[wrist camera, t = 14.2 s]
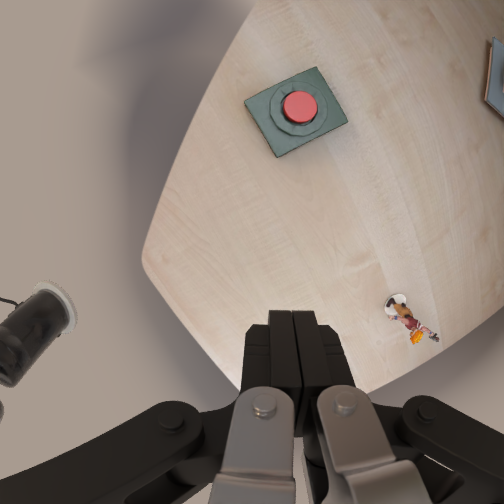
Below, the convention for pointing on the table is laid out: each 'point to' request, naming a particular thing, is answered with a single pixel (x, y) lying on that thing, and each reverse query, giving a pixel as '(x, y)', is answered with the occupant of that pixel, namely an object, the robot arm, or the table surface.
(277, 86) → the button box
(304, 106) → the button
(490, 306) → the table surface
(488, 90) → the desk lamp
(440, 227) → the table surface
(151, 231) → the table surface
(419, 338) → the action figure
